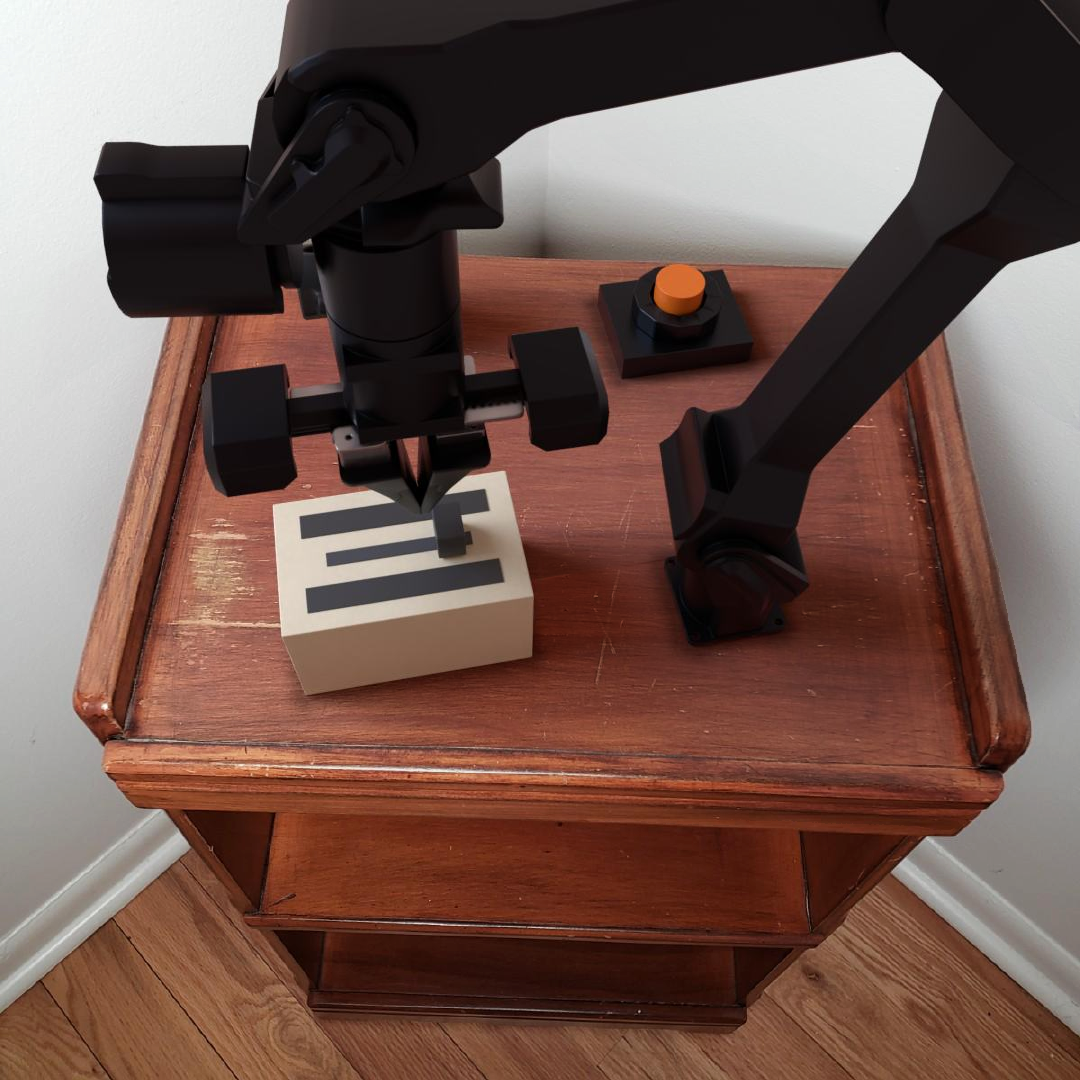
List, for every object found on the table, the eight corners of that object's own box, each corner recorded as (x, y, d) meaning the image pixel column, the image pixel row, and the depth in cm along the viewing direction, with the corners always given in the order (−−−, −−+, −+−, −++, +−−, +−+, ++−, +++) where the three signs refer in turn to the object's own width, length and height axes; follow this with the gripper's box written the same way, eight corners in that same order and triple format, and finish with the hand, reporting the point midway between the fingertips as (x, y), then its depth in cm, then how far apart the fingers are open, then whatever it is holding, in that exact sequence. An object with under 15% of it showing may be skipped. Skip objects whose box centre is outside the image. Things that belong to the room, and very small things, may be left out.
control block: (748, 362, 77) (759, 324, 74) (621, 379, 76) (626, 341, 73) (718, 290, 82) (726, 250, 78) (597, 305, 80) (600, 266, 77)
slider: (466, 554, 58) (465, 535, 56) (438, 559, 58) (436, 539, 56) (460, 520, 59) (458, 500, 58) (433, 524, 59) (430, 505, 57)
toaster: (532, 657, 63) (534, 595, 57) (305, 695, 61) (281, 636, 55) (506, 538, 68) (505, 469, 62) (295, 571, 66) (272, 503, 60)
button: (707, 312, 75) (711, 294, 74) (660, 318, 75) (663, 300, 73) (694, 279, 77) (697, 261, 76) (648, 285, 77) (650, 267, 75)
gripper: (568, 152, 48) (556, 377, 61) (164, 194, 46) (241, 419, 59) (625, 317, 42) (598, 528, 55) (164, 376, 40) (250, 581, 53)
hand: (420, 507), depth 56 cm, fingers closed
